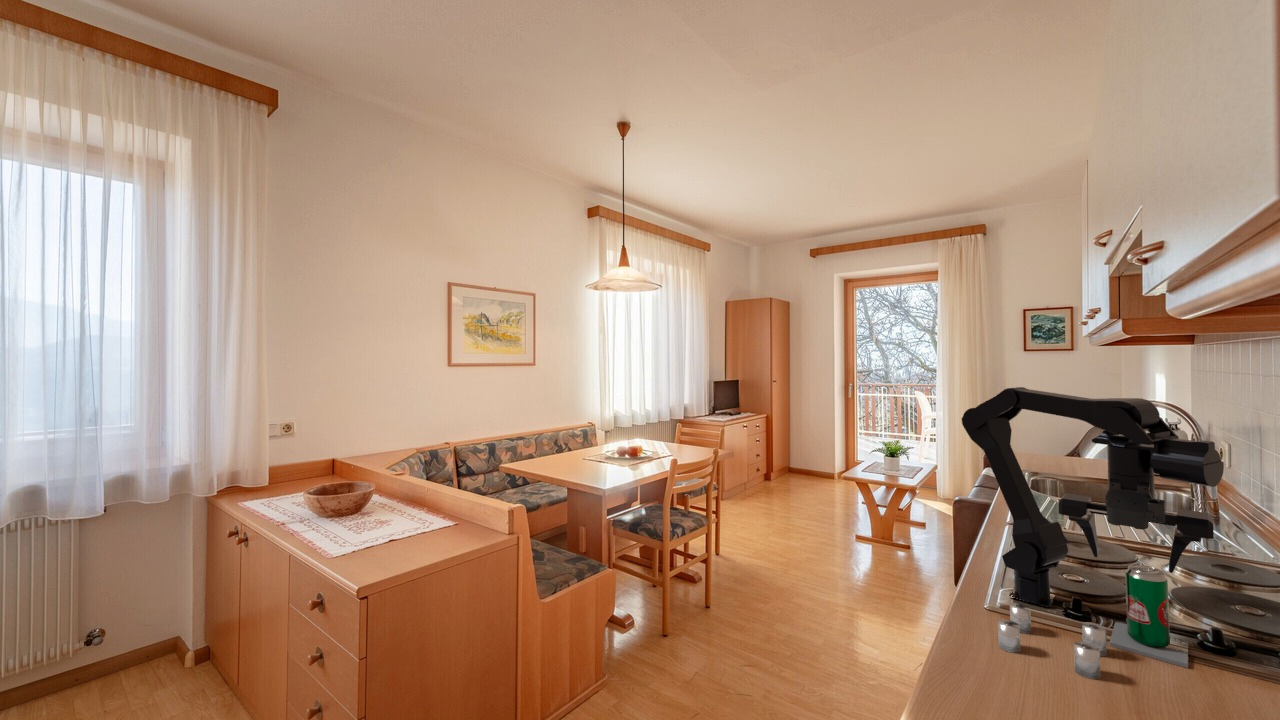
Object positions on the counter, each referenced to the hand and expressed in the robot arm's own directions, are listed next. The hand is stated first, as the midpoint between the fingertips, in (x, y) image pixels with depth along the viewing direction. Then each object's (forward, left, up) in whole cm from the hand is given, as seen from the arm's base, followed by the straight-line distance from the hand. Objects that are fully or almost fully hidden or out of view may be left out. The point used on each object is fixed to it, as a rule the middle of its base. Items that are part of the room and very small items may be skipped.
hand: (1132, 564), depth 88 cm
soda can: (+1, +2, -12) cm, 12 cm away
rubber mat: (+1, +2, -13) cm, 13 cm away
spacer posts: (+13, -9, -13) cm, 20 cm away
